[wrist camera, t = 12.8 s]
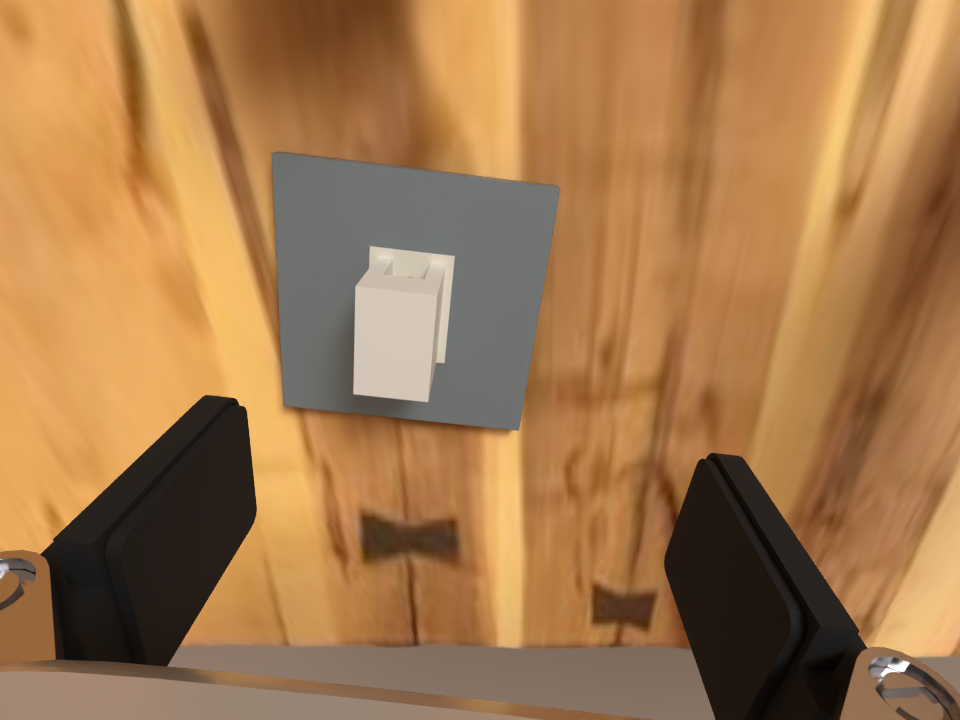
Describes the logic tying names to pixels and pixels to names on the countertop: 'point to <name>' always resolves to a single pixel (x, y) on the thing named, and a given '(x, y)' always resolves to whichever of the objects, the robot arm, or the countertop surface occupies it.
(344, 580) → the countertop surface
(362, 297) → the plug housing
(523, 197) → the pin board
